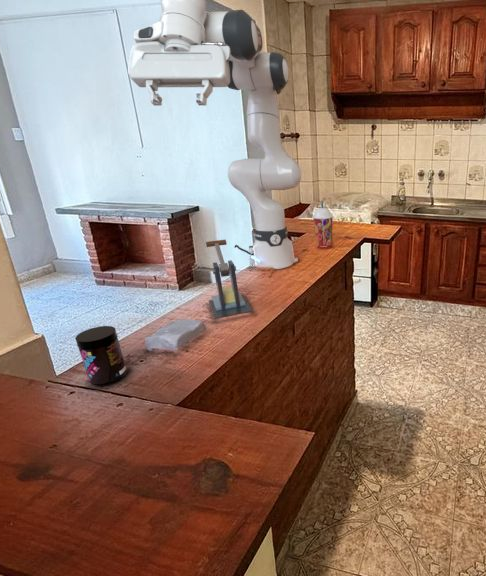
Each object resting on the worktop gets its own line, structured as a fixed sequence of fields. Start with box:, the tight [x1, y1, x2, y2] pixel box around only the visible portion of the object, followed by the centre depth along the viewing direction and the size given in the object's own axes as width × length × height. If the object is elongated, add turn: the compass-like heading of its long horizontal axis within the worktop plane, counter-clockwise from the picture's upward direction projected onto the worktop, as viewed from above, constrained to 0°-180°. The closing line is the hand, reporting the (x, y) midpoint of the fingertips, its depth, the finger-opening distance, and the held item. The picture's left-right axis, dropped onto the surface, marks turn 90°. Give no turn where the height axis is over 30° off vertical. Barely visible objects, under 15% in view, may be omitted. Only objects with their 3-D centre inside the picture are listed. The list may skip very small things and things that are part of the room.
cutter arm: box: [205, 239, 230, 278], centre depth 113 cm, size 14×6×2 cm, turn 27°
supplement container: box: [75, 325, 128, 388], centre depth 80 cm, size 7×7×10 cm
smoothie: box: [312, 200, 334, 250], centre depth 172 cm, size 8×8×20 cm
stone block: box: [144, 318, 206, 352], centre depth 96 cm, size 12×5×10 cm
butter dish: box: [211, 284, 246, 311], centre depth 115 cm, size 10×8×4 cm
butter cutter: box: [208, 259, 254, 320], centre depth 111 cm, size 14×10×14 cm
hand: (178, 104), depth 82 cm, fingers open, 8 cm apart
